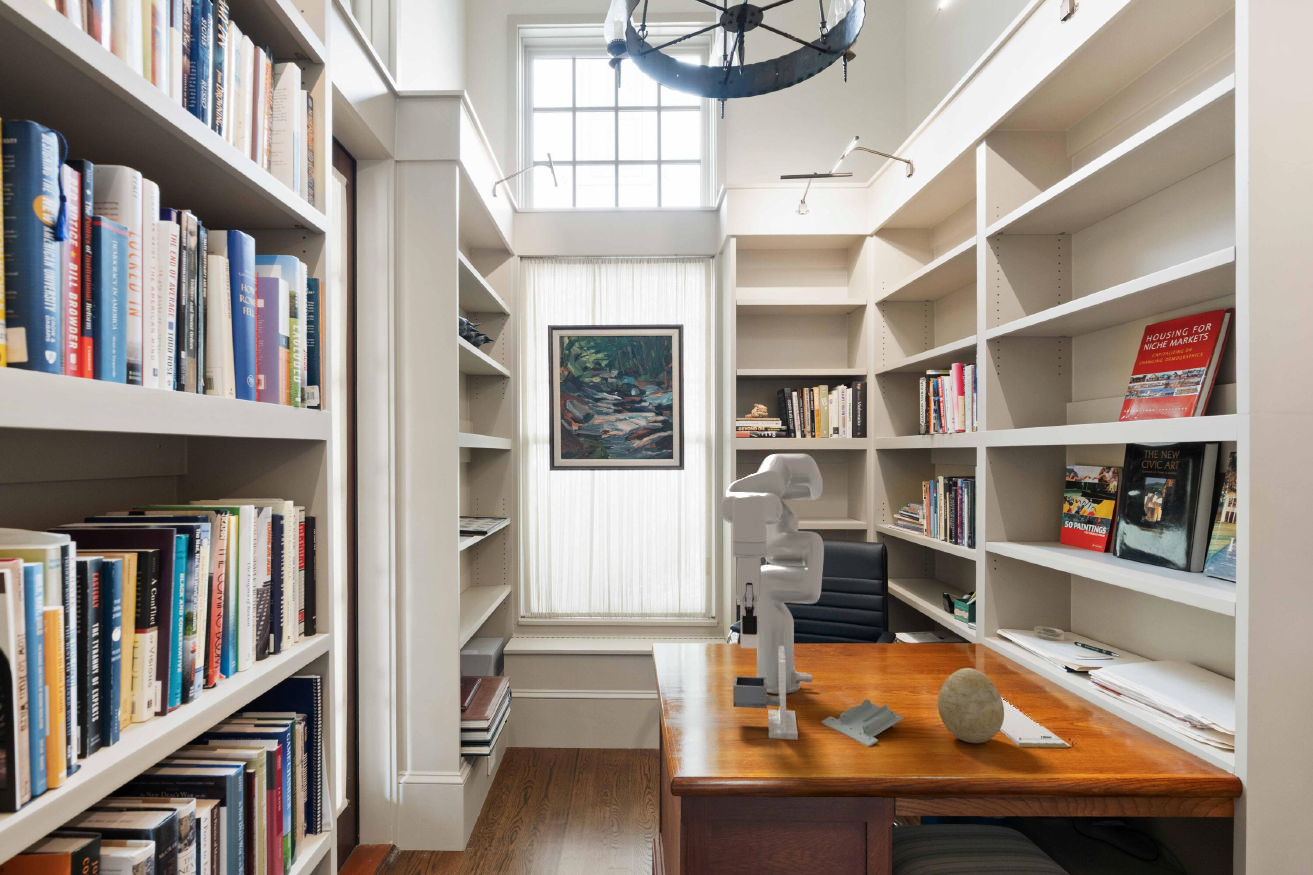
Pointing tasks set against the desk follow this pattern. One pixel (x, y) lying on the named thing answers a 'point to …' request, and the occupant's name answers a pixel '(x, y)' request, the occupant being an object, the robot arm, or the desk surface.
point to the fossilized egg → (971, 706)
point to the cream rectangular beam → (748, 639)
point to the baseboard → (1027, 730)
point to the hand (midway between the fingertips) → (749, 630)
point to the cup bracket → (767, 701)
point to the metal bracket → (864, 722)
